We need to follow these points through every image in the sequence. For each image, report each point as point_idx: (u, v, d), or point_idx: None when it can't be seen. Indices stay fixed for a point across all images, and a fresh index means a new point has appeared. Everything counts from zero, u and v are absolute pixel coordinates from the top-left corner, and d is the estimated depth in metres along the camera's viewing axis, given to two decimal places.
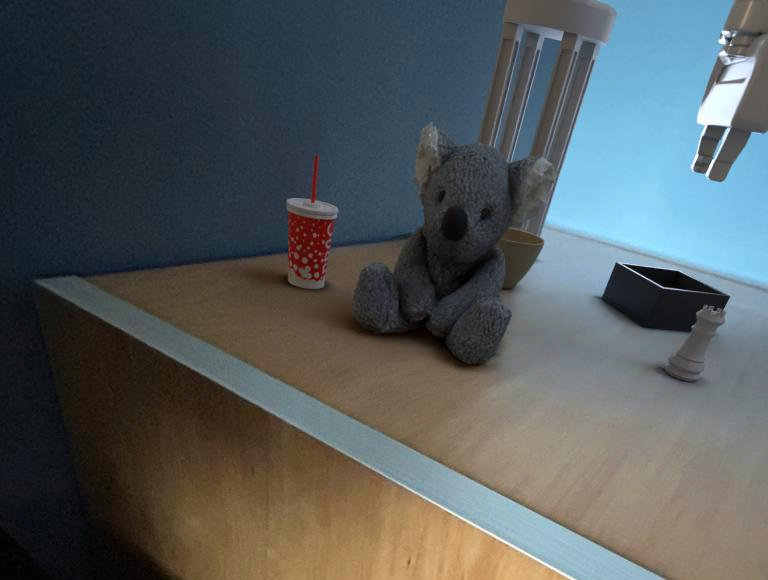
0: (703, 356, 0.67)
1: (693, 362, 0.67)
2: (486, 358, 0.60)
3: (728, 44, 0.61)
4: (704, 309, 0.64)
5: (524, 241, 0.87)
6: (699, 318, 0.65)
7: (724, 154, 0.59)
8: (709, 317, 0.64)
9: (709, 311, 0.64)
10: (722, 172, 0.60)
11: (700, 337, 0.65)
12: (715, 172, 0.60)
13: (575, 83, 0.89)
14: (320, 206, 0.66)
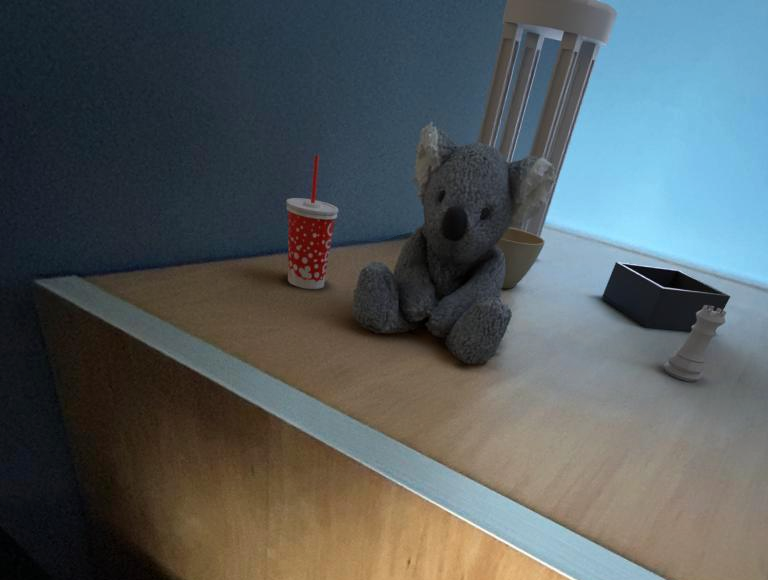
0: (703, 356, 0.67)
1: (693, 362, 0.67)
2: (486, 358, 0.60)
3: None
4: (704, 309, 0.64)
5: (524, 241, 0.87)
6: (699, 318, 0.65)
7: None
8: (709, 317, 0.64)
9: (709, 311, 0.64)
10: None
11: (700, 337, 0.65)
12: None
13: (575, 83, 0.89)
14: (320, 206, 0.66)
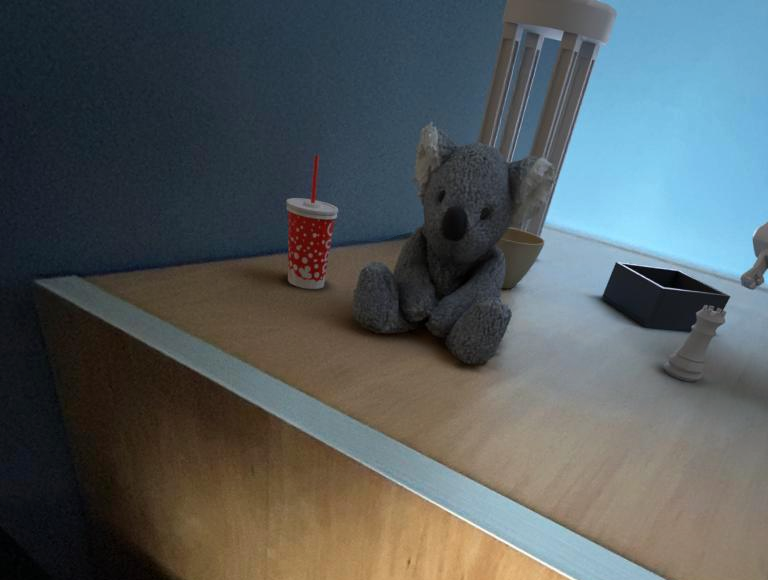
0: (703, 356, 0.67)
1: (693, 362, 0.67)
2: (486, 358, 0.60)
3: None
4: (704, 309, 0.64)
5: (524, 241, 0.87)
6: (699, 318, 0.65)
7: None
8: (709, 317, 0.64)
9: (709, 311, 0.64)
10: None
11: (700, 337, 0.65)
12: None
13: (575, 83, 0.89)
14: (320, 206, 0.66)
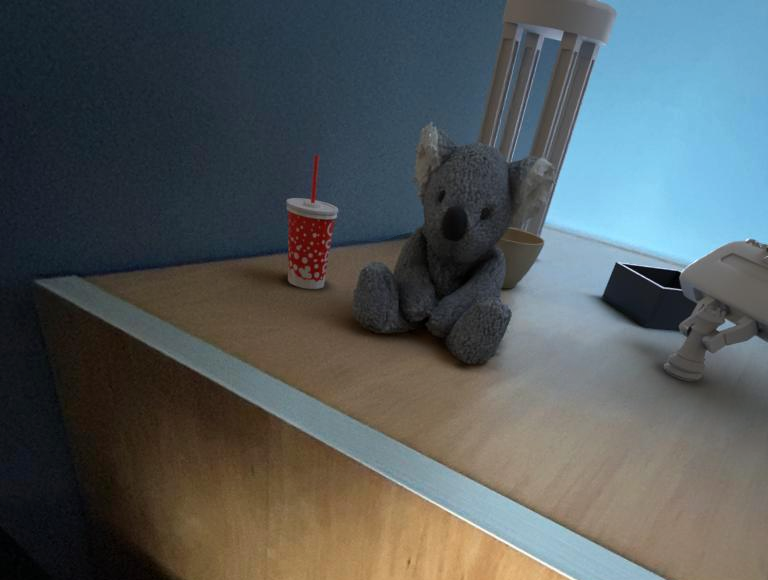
0: (703, 356, 0.67)
1: (693, 362, 0.67)
2: (486, 358, 0.60)
3: None
4: (704, 309, 0.64)
5: (524, 241, 0.87)
6: (699, 318, 0.65)
7: None
8: (709, 317, 0.64)
9: (709, 311, 0.64)
10: None
11: (700, 337, 0.65)
12: None
13: (575, 83, 0.89)
14: (320, 206, 0.66)
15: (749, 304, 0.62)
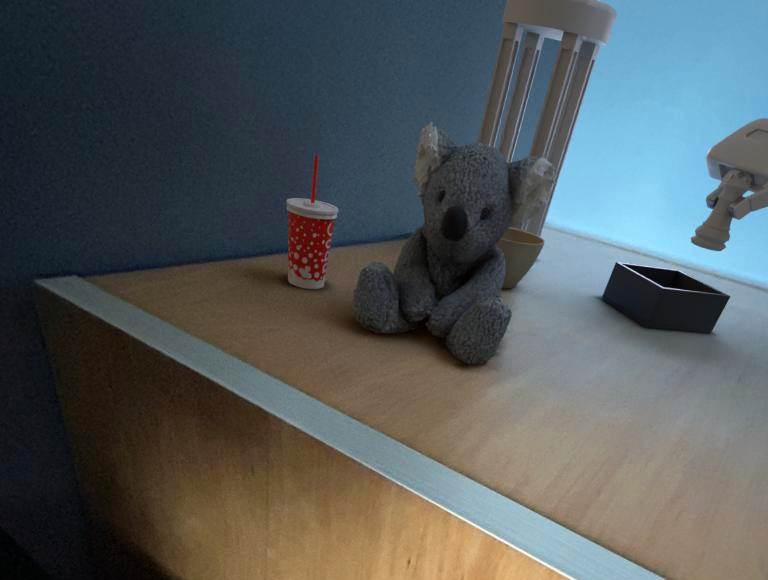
0: (729, 225, 0.71)
1: (719, 230, 0.71)
2: (486, 358, 0.60)
3: None
4: (731, 176, 0.68)
5: (524, 241, 0.87)
6: (726, 185, 0.69)
7: None
8: (736, 183, 0.68)
9: (736, 177, 0.68)
10: None
11: (726, 205, 0.69)
12: None
13: (575, 83, 0.89)
14: (320, 206, 0.66)
15: None
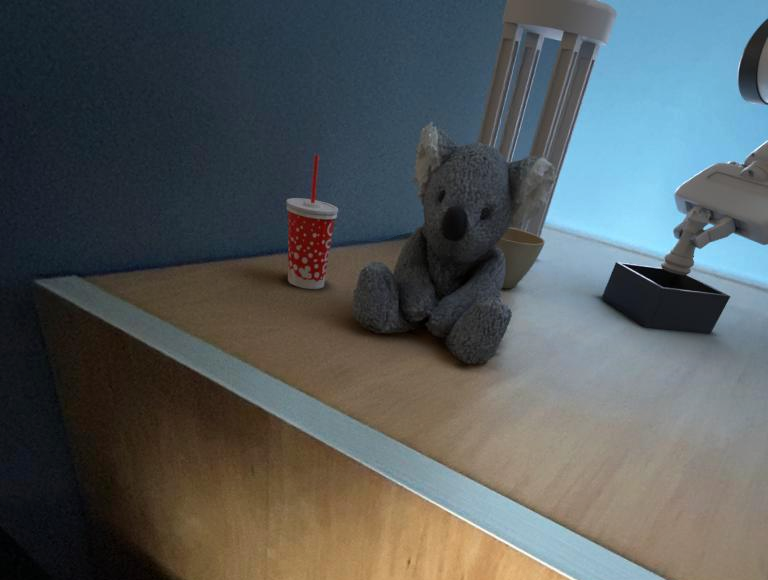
0: (692, 253, 0.83)
1: (684, 257, 0.83)
2: (486, 358, 0.60)
3: None
4: (693, 212, 0.80)
5: (524, 241, 0.87)
6: (689, 220, 0.81)
7: None
8: (697, 218, 0.80)
9: (696, 213, 0.80)
10: None
11: (689, 236, 0.81)
12: None
13: (575, 83, 0.89)
14: (320, 206, 0.66)
15: (728, 206, 0.78)
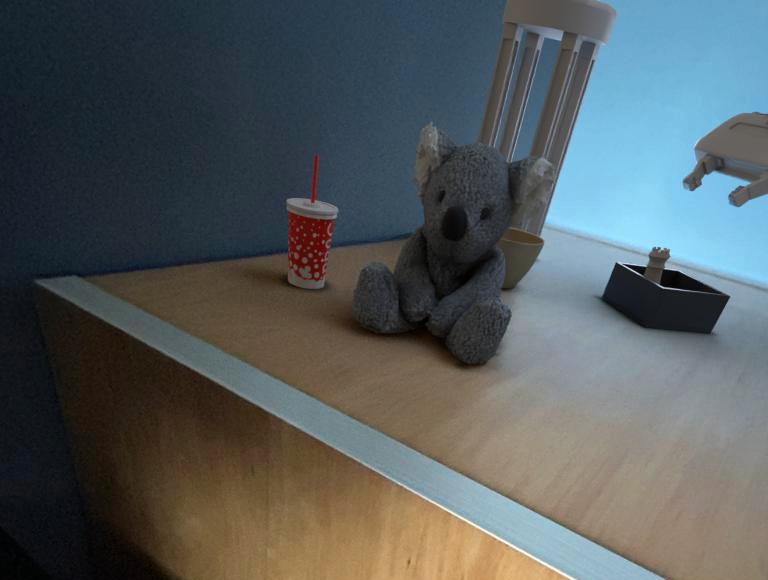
0: None
1: None
2: (486, 358, 0.60)
3: None
4: (653, 249, 0.86)
5: (524, 241, 0.87)
6: (650, 256, 0.86)
7: None
8: (657, 254, 0.85)
9: (656, 250, 0.85)
10: None
11: (653, 271, 0.87)
12: None
13: (575, 83, 0.89)
14: (320, 206, 0.66)
15: (755, 156, 0.74)
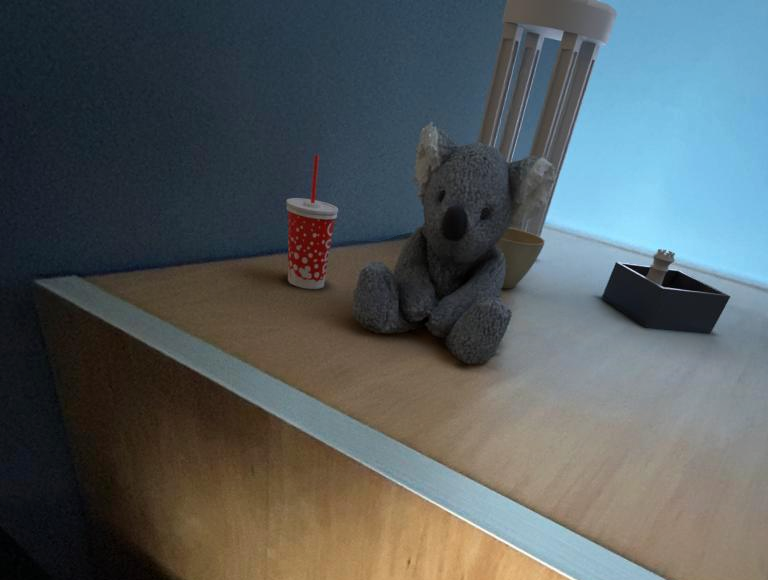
0: None
1: None
2: (486, 358, 0.60)
3: None
4: (658, 251, 0.86)
5: (524, 241, 0.87)
6: (655, 258, 0.86)
7: None
8: (662, 256, 0.85)
9: (662, 252, 0.85)
10: None
11: (656, 273, 0.87)
12: None
13: (575, 83, 0.89)
14: (320, 206, 0.66)
15: None
